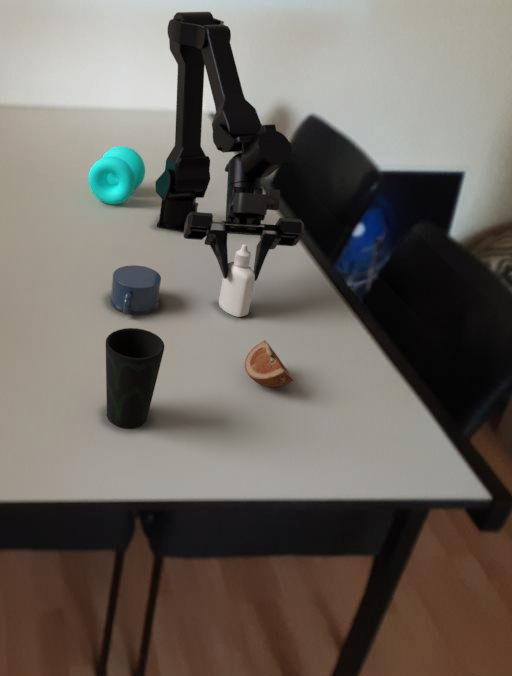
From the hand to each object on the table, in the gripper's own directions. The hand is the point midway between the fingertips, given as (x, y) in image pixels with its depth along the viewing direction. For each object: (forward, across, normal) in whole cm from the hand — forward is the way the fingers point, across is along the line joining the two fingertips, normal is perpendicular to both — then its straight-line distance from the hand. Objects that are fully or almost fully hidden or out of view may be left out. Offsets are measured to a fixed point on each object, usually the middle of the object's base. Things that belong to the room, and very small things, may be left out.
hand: (240, 279), depth 138 cm
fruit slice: (+19, +3, -9) cm, 21 cm away
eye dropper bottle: (+4, 0, +6) cm, 7 cm away
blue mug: (+4, -17, +6) cm, 18 cm away
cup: (+27, -18, -17) cm, 36 cm away
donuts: (-28, -21, +38) cm, 51 cm away
